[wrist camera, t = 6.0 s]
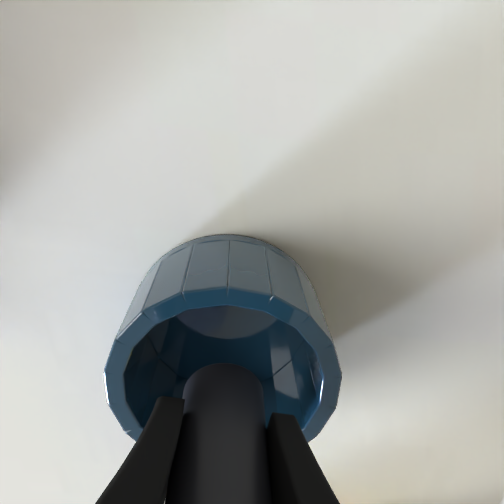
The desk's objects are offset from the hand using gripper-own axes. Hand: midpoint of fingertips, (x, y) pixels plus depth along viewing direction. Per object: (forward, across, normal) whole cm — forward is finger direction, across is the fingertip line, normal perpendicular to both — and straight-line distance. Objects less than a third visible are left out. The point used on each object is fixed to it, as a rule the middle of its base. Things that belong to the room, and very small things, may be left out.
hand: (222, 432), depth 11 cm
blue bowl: (+6, 0, 0) cm, 6 cm away
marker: (+1, 0, 0) cm, 1 cm away
